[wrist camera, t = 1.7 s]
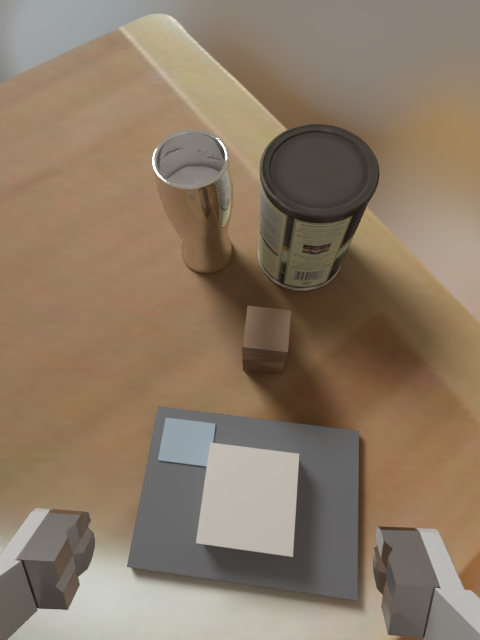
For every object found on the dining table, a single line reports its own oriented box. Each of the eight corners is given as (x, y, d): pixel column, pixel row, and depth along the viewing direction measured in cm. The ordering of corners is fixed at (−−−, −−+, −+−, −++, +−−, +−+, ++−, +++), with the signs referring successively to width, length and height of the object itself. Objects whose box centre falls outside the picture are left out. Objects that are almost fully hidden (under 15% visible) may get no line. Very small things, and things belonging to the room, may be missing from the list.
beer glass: (183, 224, 49) (157, 124, 35) (239, 229, 48) (235, 129, 34) (174, 274, 46) (142, 187, 32) (232, 279, 46) (226, 193, 32)
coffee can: (312, 205, 50) (336, 107, 36) (359, 268, 46) (404, 185, 33) (240, 238, 48) (238, 149, 35) (284, 306, 44) (299, 236, 31)
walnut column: (243, 370, 42) (242, 347, 34) (247, 334, 43) (247, 305, 36) (280, 374, 42) (288, 352, 34) (283, 338, 43) (291, 310, 36)
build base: (130, 564, 35) (116, 574, 32) (160, 408, 40) (151, 401, 37) (354, 597, 34) (367, 612, 30) (356, 431, 39) (367, 427, 36)
